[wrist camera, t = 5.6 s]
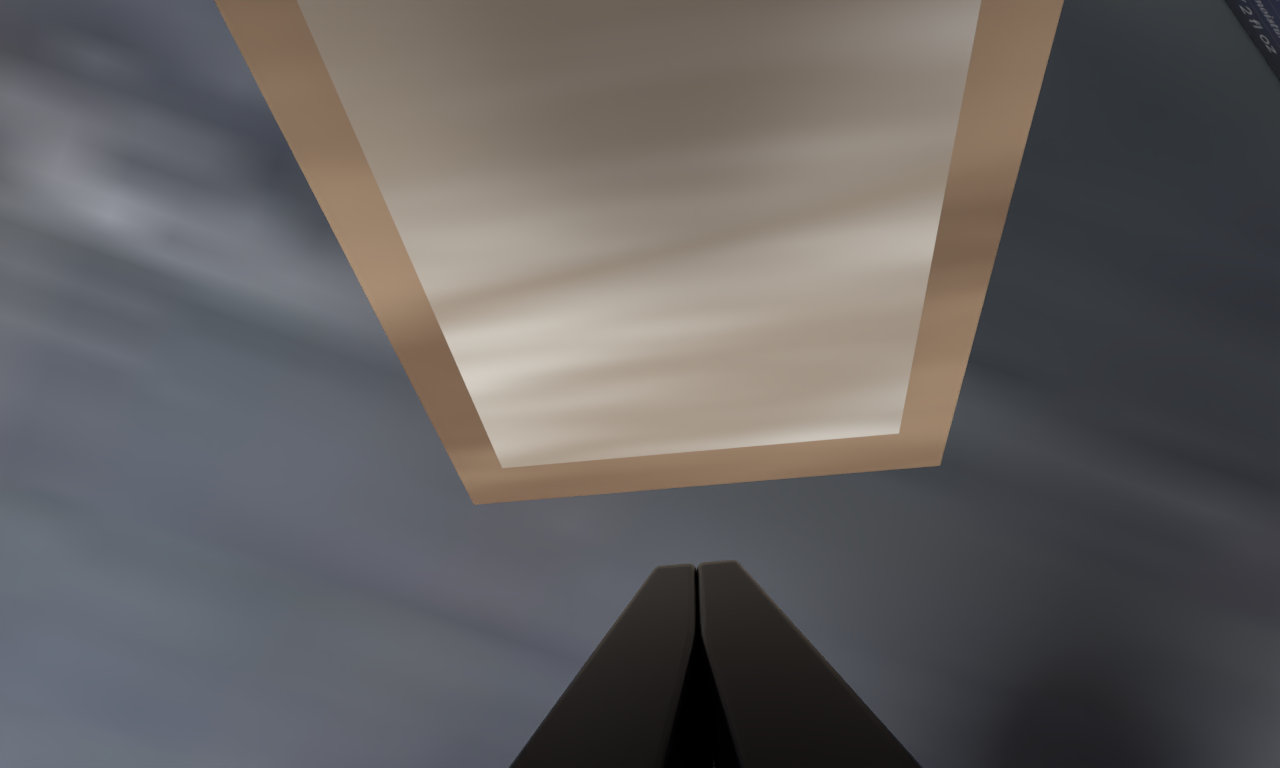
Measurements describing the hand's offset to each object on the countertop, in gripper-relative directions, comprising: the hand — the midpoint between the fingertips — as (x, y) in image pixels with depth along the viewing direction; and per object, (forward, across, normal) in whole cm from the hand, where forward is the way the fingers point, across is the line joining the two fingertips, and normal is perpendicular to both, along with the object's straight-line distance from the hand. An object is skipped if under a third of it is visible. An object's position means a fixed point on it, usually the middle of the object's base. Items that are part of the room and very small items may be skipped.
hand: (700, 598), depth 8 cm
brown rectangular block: (+9, 0, +1) cm, 9 cm away
